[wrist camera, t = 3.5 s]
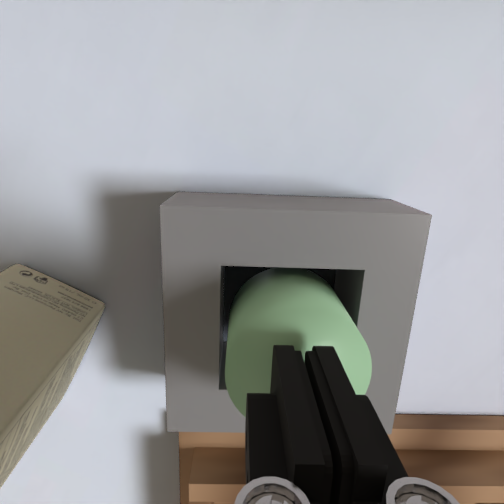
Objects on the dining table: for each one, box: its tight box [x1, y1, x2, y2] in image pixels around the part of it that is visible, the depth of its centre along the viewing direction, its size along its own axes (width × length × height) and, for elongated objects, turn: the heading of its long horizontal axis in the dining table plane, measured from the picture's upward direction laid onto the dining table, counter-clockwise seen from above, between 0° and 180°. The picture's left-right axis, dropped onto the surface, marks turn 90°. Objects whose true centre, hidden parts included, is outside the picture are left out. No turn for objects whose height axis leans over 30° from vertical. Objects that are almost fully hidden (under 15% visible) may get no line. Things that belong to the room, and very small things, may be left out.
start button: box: [225, 267, 372, 417], centre depth 13 cm, size 4×4×4 cm
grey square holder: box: [160, 192, 432, 434], centre depth 15 cm, size 9×9×4 cm
